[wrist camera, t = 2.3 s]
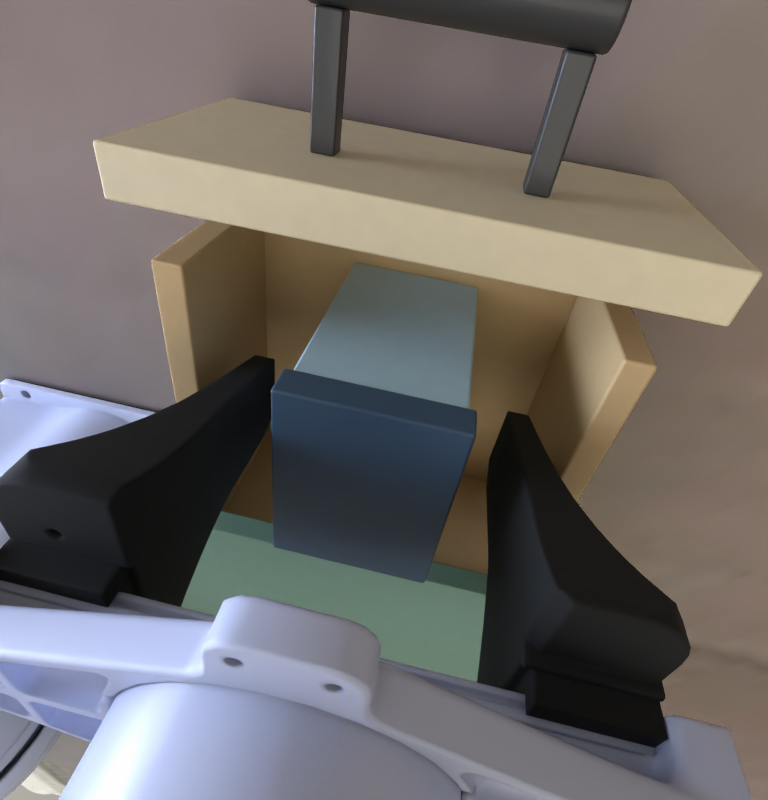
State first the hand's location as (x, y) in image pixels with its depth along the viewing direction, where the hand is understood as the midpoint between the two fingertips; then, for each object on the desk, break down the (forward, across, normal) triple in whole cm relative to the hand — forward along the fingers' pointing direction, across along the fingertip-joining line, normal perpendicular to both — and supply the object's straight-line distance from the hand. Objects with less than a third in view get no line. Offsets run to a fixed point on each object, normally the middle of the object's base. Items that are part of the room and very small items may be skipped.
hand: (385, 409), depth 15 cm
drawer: (+5, 0, -2) cm, 5 cm away
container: (+4, 0, 0) cm, 4 cm away
